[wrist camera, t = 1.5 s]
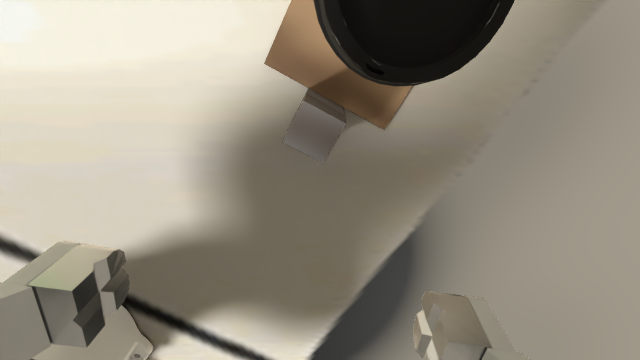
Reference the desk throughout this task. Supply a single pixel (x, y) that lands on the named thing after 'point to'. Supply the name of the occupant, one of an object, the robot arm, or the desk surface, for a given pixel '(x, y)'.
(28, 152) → the desk surface
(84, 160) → the desk surface
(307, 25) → the walnut strip
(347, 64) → the coffee cup
